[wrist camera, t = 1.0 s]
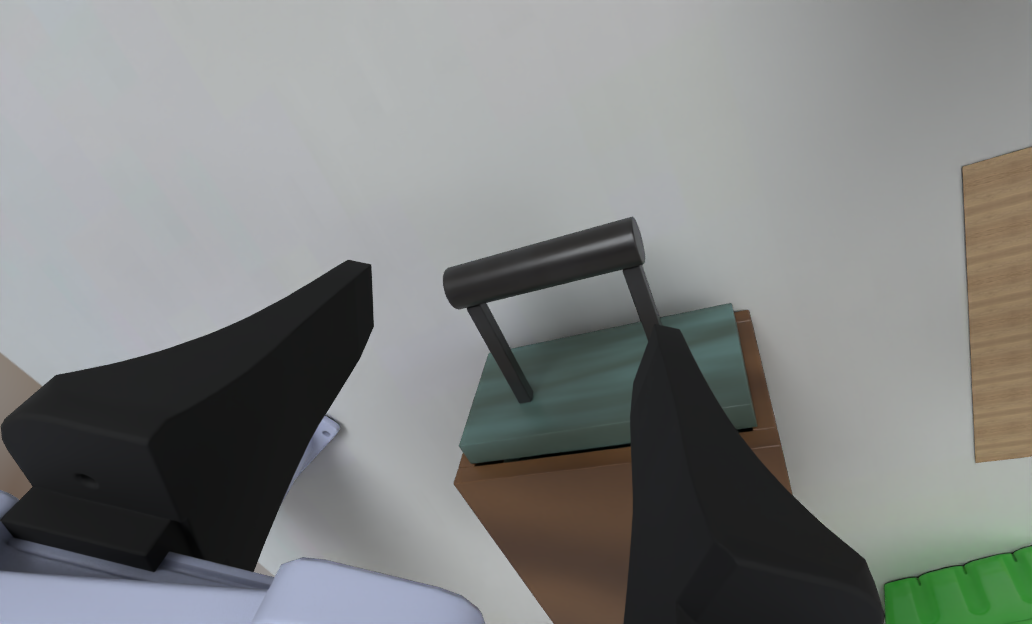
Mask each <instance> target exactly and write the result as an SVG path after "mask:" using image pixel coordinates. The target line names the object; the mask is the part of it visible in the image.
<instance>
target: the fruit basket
mask: <svg viewBox="0 0 1032 624" xmlns="http://www.w3.org/2000/svg"><path fill="white" fill-rule="evenodd" d="M884 591H885V622H886V624H1032V546H1030V547H1026V548H1022V549H1020V550H1017V551H1015V552H1014V554H1010V553H1007V554H999V555H995V556H991V557H987V558H983V559H980V560H976V561H972V562H970V563H968V564H965V566H954V567H948V568H944V569H940V570H936V571H933V572H929V573H926V574H924V575H922V576H920V577H919V578H915V577H914V578H906V579H902V580H898V581H894V582H890V583H887V584H885V585H884Z"/></svg>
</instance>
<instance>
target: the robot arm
mask: <svg viewBox="0 0 1032 624" xmlns="http://www.w3.org/2000/svg"><path fill="white" fill-rule="evenodd" d="M373 327H374V320H373V295H372V271H371V264H366V263H361V262H356V261H352V260H347V261H345V262H343V263H342V264H340V265H338V266H337V267H335V268H333V269H332V270H330V271H328V272H327V273H325V274H324V275H322V276H320V277H319V278H317V279H315V280H314V281H312V282H311V283H309V284H307V285H306V286H304V287H302V288H300V289H299V290H297V291H295V292H294V293H292V294H290V295H289V296H287V297H285V298H283V299H281V300H280V301H278V302H276V303H274V304H272V305H270V306H268V307H266V308H265V309H263V310H261V311H259V312H257V313H255V314H253V315H251V316H249V317H247V318H245V319H243V320H241V321H239V322H236V323H234V324H232V325H230V326H227V327H225V328H222V329H220V330H218V331H215V332H213V333H210V334H208V335H205V336H203V337H200V338H197V339H194V340H191V341H188V342H185V343H182V344H180V345H177V346H174V347H171V348H168V349H165V350H162V351H158V352H155V353H151V354H148V355H144V356H141V357H137V358H133V359H129V360H125V361H122V362H117V363H113V364H109V365H104V366H99V367H95V368H90V369H85V370H80V371H75V372H70V373H65V374H59V375H56V376H54V377H53V378H52V379H51V380H49V381H48V382H47V383H46V384H45V385H44V386H42V387H41V388H40V389H39V390H38V391H37V392H36V393H34V394H33V395H32V396H31V397H30V398H29V399H28V400H26V401H25V402H24V403H23V404H22V405H20V406H19V407H18V408H17V409H16V410H15V411H14V412H12V413H11V414H10V415H9V416H8V417H6V419H5V420H4V422H3V423H2V425H1V432H2V440H3V442H4V444H5V446H6V448H7V450H8V451H9V453H10V454H11V456H12V457H13V459H14V460H15V461H16V463H17V464H18V466H19V467H20V469H21V470H22V472H23V473H24V474H25V476H26V477H27V479H28V480H29V482H30V483H31V485H32V486H33V487H32V488H31V489H30V490H29V491H28V492H27V493H26V494H25V495H24V496H23V497H22V498H21V499H20V500H19V499H18V498H16V497H14V496H13V495H11V494H9V493H7V492H4V491H1V490H0V624H485V622H484V619H483V616H482V613H481V612H480V610H479V609H478V608H477V607H476V606H475V605H474V604H472V603H471V602H470V601H468V600H467V599H466V598H464V597H463V596H461V595H459V594H456V593H453V592H451V591H448V590H445V589H443V588H440V587H437V586H433V585H428V584H424V583H420V582H416V581H412V580H408V579H404V578H399V577H395V576H391V575H387V574H383V573H379V572H375V571H370V570H366V569H362V568H358V567H354V566H350V565H346V564H342V563H337V562H333V561H329V560H324V559H315V558H305V557H302V558H299V559H296V560H293V561H290V562H287V563H284V564H282V565H281V566H280V568H279V570H278V572H277V574H276V576H275V577H271V576H267V575H263V574H259V573H255V572H254V569H255V567H256V564H257V562H258V559H259V557H260V554H261V551H262V549H263V546H264V544H265V541H266V539H267V536H268V534H269V532H270V529H271V527H272V524H273V522H274V520H275V517H276V515H277V512H278V510H279V508H280V506H281V504H282V502H283V500H284V499H285V497H286V495H287V493H288V492H289V490H290V488H291V486H292V485H293V483H294V481H295V479H296V478H297V477H298V476H299V475H300V473H301V472H302V471H303V470H304V469H305V468H306V467H307V466H308V465H309V464H310V463H311V462H312V460H313V459H314V458H315V457H316V456H317V455H318V454H319V453H320V452H321V451H322V450H323V449H324V447H325V446H326V445H327V444H328V443H329V442H330V441H331V440H332V439H333V438H334V437H335V436H336V435H337V433H338V431H339V429H340V426H339V425H338V423H336V422H335V421H333V420H331V419H330V418H328V417H326V416H325V414H326V413H327V411H328V410H329V408H330V406H331V405H332V403H333V402H334V400H335V398H336V397H337V395H338V393H339V392H340V390H341V389H342V387H343V385H344V384H345V382H346V381H347V379H348V377H349V376H350V374H351V372H352V371H353V369H354V367H355V366H356V364H357V362H358V361H359V359H360V357H361V355H362V352H363V350H364V348H365V346H366V344H367V341H368V339H369V336H370V334H371V332H372V329H373ZM630 438H631V465H632V490H633V515H632V530H631V544H630V557H629V569H628V581H627V592H626V603H625V613H624V623H623V624H883V623H884V618H885V614H884V611H883V608H882V605H881V602H880V599H879V595H878V592H877V589H876V585H875V582H874V580H873V577H872V575H871V573H870V570H869V568H868V565H867V563H866V560H865V559H864V558H863V557H862V556H860V555H859V554H858V553H857V552H856V551H854V550H853V549H852V548H851V547H850V546H848V545H847V544H846V543H845V542H843V541H842V540H841V539H840V538H839V537H837V536H836V535H835V534H834V533H833V532H831V531H830V530H829V529H828V528H827V527H825V526H824V525H823V524H822V523H821V522H820V521H819V520H818V519H817V518H816V517H815V516H813V515H812V514H811V513H810V512H809V511H808V510H807V509H806V508H805V507H804V506H803V505H802V504H801V503H800V502H799V501H798V500H797V499H796V498H795V497H794V496H793V495H792V494H791V493H790V492H789V491H788V490H787V489H786V488H785V487H784V486H783V485H782V484H781V483H780V482H779V481H778V480H777V478H776V477H775V476H774V475H773V474H772V473H771V472H770V471H769V470H768V469H767V468H766V466H765V465H764V464H763V463H762V462H761V461H760V459H759V458H758V457H757V456H756V455H755V453H754V452H753V451H752V449H751V448H750V447H749V446H748V444H747V443H746V442H745V440H744V439H743V438H742V437H741V435H740V434H739V433H738V431H737V430H736V428H735V427H734V426H733V424H732V423H731V421H730V420H729V418H728V416H727V415H726V413H725V412H724V410H723V409H722V407H721V406H720V404H719V402H718V401H717V399H716V397H715V396H714V394H713V392H712V390H711V389H710V387H709V385H708V383H707V382H706V380H705V378H704V376H703V374H702V372H701V371H700V369H699V367H698V365H697V363H696V361H695V359H694V357H693V355H692V353H691V351H690V349H689V347H688V345H687V342H686V340H685V338H684V336H683V334H682V332H681V331H680V329H677V328H672V327H668V326H663V325H658V324H654V327H653V329H652V332H651V335H650V338H649V340H648V343H647V346H646V349H645V351H644V354H643V357H642V360H641V362H640V365H639V368H638V371H637V373H636V376H635V379H634V382H633V390H632V400H631V411H630Z"/></svg>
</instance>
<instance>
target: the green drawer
mask: <svg viewBox="0 0 1032 624" xmlns="http://www.w3.org/2000/svg"><path fill="white" fill-rule="evenodd" d="M644 263H645V252H644V246H643V241H642V237H641V234H640V230H639V227H638V225H637V222H636V220H635V219H634V218H633V217H629V218H626V219H622V220H618V221H615V222H611V223H608V224H604V225H600V226H597V227H593V228H590V229H586V230H582V231H579V232H575V233H572V234H568V235H564V236H561V237H557V238H554V239H550V240H547V241H543V242H539V243H536V244H532V245H529V246H525V247H521V248H518V249H514V250H511V251H507V252H503V253H500V254H496V255H493V256H489V257H485V258H482V259H478V260H475V261H471V262H467V263H464V264H460V265H457V266H453V267H449V268H447V269H446V270H445V272H444V275H443V286H444V291H445V294H446V297H447V299H448V301H449V303H450V304H451V305H452V306H453V307H454V308H456V309H463V308H467V311H468V312H469V314H470V316H471V318H472V320H473V321H474V323H475V325H476V327H477V329H478V330H479V332H480V334H481V336H482V338H483V339H484V341H485V343H486V345H487V347H488V348H489V350H490V352H491V353H489V354H488V357H487V360H486V363H485V366H484V369H483V372H482V376H481V379H480V382H479V385H478V388H477V391H476V394H475V397H474V400H473V404H472V407H471V410H470V413H469V416H468V419H467V422H466V425H465V428H464V432H463V435H462V438H461V441H460V444H459V447H460V448H461V450H462V451H463V453H464V454H465V456H466V457H467V459H468V460H469V462H470V463H471V464H475V463H483V462H490V461H498V460H504V462H503V463H506V462H514V461H522V460H530V459H538V458H545V457H553V456H561V455H569V454H577V453H585V452H592V451H600V450H608V449H616V448H624V447H631V438H630V411H631V400H632V390H633V382H634V379H635V376H636V373H637V371H638V368H639V365H640V362H641V360H642V357H643V354H644V351H645V349H646V346H647V343H648V340H649V338H650V335H651V332H652V329H653V327H654V324H658V325H663V326H668V327H672V328H677V329H680V331H681V332H682V334H683V336H684V338H685V340H686V342H687V345H688V347H689V349H690V351H691V353H692V355H693V357H694V359H695V361H696V363H697V365H698V367H699V369H700V371H701V372H702V374H703V376H704V378H705V380H706V382H707V383H708V385H709V387H710V389H711V390H712V392H713V394H714V396H715V397H716V399H717V401H718V402H719V404H720V406H721V407H722V409H723V410H724V412H725V413H726V415H727V416H728V418H729V420H730V421H731V423H732V424H733V426H734V427H735V428H736V430H737V431H738V433H741V432H747V428H753V427H757V421H756V416H755V411H754V406H753V401H752V396H751V391H750V386H749V381H748V376H747V372H746V367H745V362H744V357H743V352H742V347H741V342H740V337H739V332H738V327H737V323H736V319H735V315H734V311H733V307H732V304H731V303H729V304H724V305H719V306H714V307H709V308H704V309H700V310H695V311H690V312H685V313H680V314H676V315H671V316H666V317H661V318H660V317H659V314H658V311H657V308H656V305H655V302H654V299H653V296H652V293H651V290H650V287H649V284H648V281H647V278H646V275H645V272H644V269H643V266H642V265H643V264H644ZM622 269H623V274H624V276H625V279H626V282H627V285H628V288H629V290H630V293H631V296H632V299H633V301H634V304H635V307H636V310H637V312H638V315H639V318H640V321H641V322H637V323H632V324H628V325H623V326H618V327H613V328H608V329H604V330H599V331H594V332H589V333H584V334H580V335H575V336H570V337H565V338H560V339H556V340H551V341H546V342H541V343H536V344H531V345H527V346H522V347H517V348H512V349H510V347H509V345H508V343H507V341H506V339H505V337H504V336H503V334H502V332H501V330H500V328H499V326H498V324H497V322H496V320H495V319H494V317H493V315H492V313H491V311H490V309H489V307H488V305H487V304H486V303H488V302H492V301H496V300H500V299H504V298H508V297H512V296H516V295H520V294H525V293H529V292H533V291H537V290H541V289H545V288H549V287H553V286H557V285H561V284H565V283H569V282H573V281H578V280H582V279H586V278H590V277H594V276H598V275H602V274H606V273H610V272H614V271H618V270H622Z"/></svg>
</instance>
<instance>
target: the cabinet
mask: <svg viewBox="0 0 1032 624" xmlns="http://www.w3.org/2000/svg"><path fill="white" fill-rule="evenodd" d="M734 315H735V319H736V323H737V327H738V332H739V337H740V342H741V347H742V352H743V357H744V362H745V367H746V372H747V376H748V381H749V386H750V391H751V396H752V401H753V406H754V411H755V416H756V421H757V427H753V428H747V432H741V433H739V434H740V435H741V437H742V438H743V439H744V440H745V442H746V443H747V444H748V446H749V447H750V448H751V449H752V451H753V452H754V453H755V455H756V456H757V457H758V458H759V459H760V461H761V462H762V463H763V464H764V465H765V466H766V468H767V469H768V470H769V471H770V472H771V473H772V474H773V475H774V476H775V477H776V478H777V480H778V481H779V482H780V483H781V484H782V485H783V486H784V487H785V488H786V489H787V490H788V491H789V492H790V493H791V494H792V490H791V485H790V481H789V477H788V472H787V468H786V464H785V459H784V455H783V451H782V446H781V442H780V438H779V434H778V430H777V425H776V421H775V417H774V413H773V408H772V404H771V400H770V396H769V392H768V388H767V383H766V379H765V375H764V371H763V367H762V362H761V358H760V354H759V350H758V346H757V341H756V337H755V333H754V329H753V325H752V320H751V316H750V312H749V310H744V311H739V312H734ZM503 462H504V460H498V461H490V462H483V463H475V464H471V463H470V462H469V460H468V459H467V457H466V456H465V454H464V453H463V454H462V458H461V461H460V464H459V469H458V471H457V474H456V477H455V480H454V485H455V487H456V488H457V489H458V491H459V492H460V494H461V495H462V496H463V498H464V499H465V501H466V502H467V503H468V505H469V506H470V508H471V509H472V510H473V512H474V513H475V515H476V516H477V517H478V519H479V520H480V522H481V523H482V524H483V526H484V527H485V529H486V530H487V531H488V533H489V534H490V536H491V537H492V538H493V540H494V541H495V543H496V544H497V545H498V547H499V548H500V550H501V551H502V552H503V554H504V555H505V556H506V558H507V559H508V561H509V562H510V563H511V565H512V566H513V568H514V569H515V570H516V572H517V573H518V575H519V576H520V577H521V579H522V580H523V582H524V583H525V584H526V586H527V587H528V589H529V590H530V591H531V593H532V594H533V596H534V597H535V598H536V600H537V601H538V603H539V604H540V605H541V607H542V608H543V610H544V611H545V612H546V614H547V615H548V617H549V618H550V619H551V621H552V622H553V623H554V624H623V623H624V613H625V603H626V592H627V581H628V569H629V557H630V544H631V530H632V515H633V490H632V465H631V447H624V448H616V449H608V450H600V451H592V452H585V453H577V454H569V455H561V456H553V457H545V458H538V459H530V460H522V461H514V462H506V463H503ZM792 495H793V494H792Z"/></svg>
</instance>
